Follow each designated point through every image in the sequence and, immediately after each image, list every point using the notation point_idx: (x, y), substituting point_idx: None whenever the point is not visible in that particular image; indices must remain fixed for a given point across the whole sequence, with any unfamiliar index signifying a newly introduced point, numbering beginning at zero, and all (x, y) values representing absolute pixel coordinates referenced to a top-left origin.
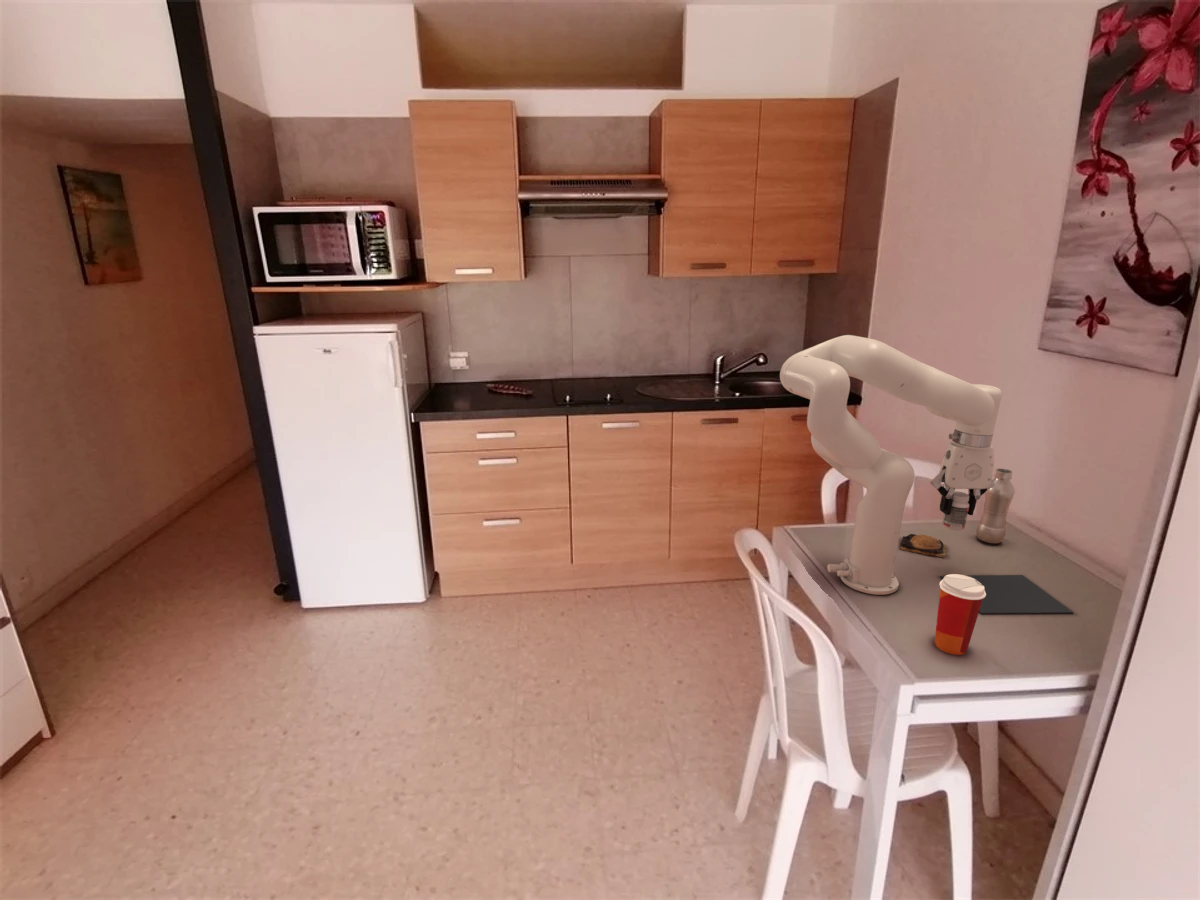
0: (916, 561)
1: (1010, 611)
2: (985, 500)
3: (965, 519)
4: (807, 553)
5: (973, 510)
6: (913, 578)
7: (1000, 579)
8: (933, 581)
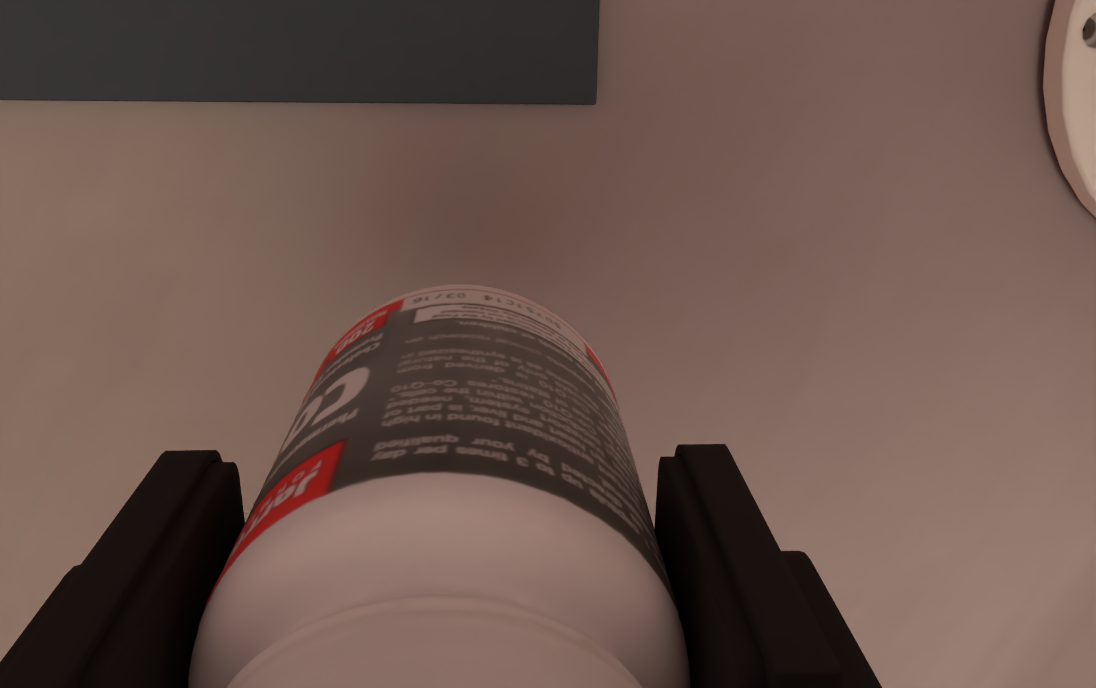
0: (635, 381)
1: None
2: None
3: (345, 377)
4: None
5: (137, 502)
6: (843, 82)
7: (38, 13)
8: (697, 22)
